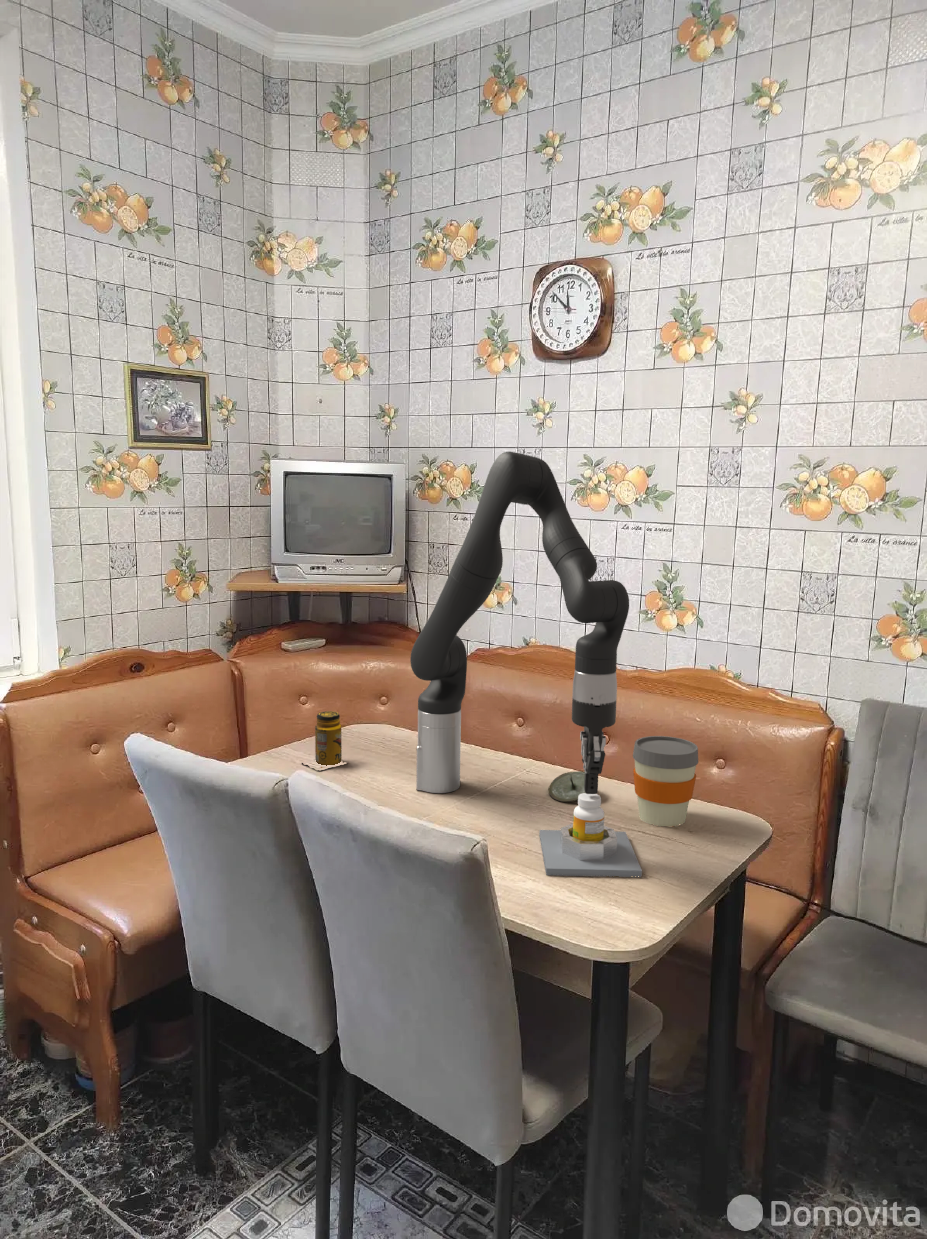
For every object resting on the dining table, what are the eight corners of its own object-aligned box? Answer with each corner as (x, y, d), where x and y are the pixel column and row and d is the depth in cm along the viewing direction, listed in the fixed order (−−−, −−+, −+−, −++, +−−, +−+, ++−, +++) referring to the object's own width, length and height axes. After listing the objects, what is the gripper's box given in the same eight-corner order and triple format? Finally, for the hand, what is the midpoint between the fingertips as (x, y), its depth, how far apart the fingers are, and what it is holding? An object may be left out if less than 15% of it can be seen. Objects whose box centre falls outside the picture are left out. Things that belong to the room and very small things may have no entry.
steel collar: (563, 860, 144) (564, 843, 144) (558, 837, 153) (559, 821, 153) (619, 861, 144) (620, 844, 143) (610, 838, 153) (611, 822, 153)
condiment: (349, 764, 195) (349, 714, 194) (318, 772, 190) (318, 720, 188) (331, 756, 201) (330, 707, 199) (300, 764, 195) (300, 714, 193)
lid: (606, 797, 177) (607, 774, 176) (575, 808, 171) (576, 785, 170) (568, 783, 185) (569, 762, 184) (537, 794, 178) (538, 771, 178)
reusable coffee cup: (617, 811, 170) (620, 739, 167) (668, 802, 175) (672, 732, 172) (654, 834, 158) (658, 758, 156) (708, 825, 163) (713, 750, 161)
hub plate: (546, 875, 141) (546, 868, 141) (539, 835, 157) (539, 829, 157) (641, 877, 141) (642, 870, 141) (625, 837, 157) (625, 831, 156)
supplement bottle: (569, 843, 151) (571, 791, 150) (598, 842, 152) (600, 790, 150) (576, 856, 146) (577, 802, 144) (606, 855, 146) (608, 802, 145)
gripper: (568, 686, 151) (565, 779, 154) (577, 705, 138) (573, 806, 141) (610, 687, 151) (606, 780, 154) (622, 706, 138) (618, 807, 140)
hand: (590, 792), depth 147 cm, fingers closed
